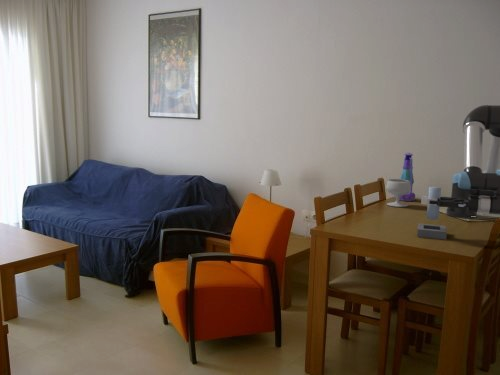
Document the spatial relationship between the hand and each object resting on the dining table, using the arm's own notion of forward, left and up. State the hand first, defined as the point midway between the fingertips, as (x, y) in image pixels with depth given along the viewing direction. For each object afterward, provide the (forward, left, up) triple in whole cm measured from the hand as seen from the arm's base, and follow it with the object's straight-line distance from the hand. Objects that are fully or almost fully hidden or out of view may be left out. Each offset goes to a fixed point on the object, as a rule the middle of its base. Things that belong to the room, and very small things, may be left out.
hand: (421, 200), depth 214 cm
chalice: (+13, -65, -16) cm, 68 cm away
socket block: (-5, 0, -16) cm, 17 cm away
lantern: (+9, -86, -16) cm, 88 cm away
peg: (-5, 0, -8) cm, 10 cm away
